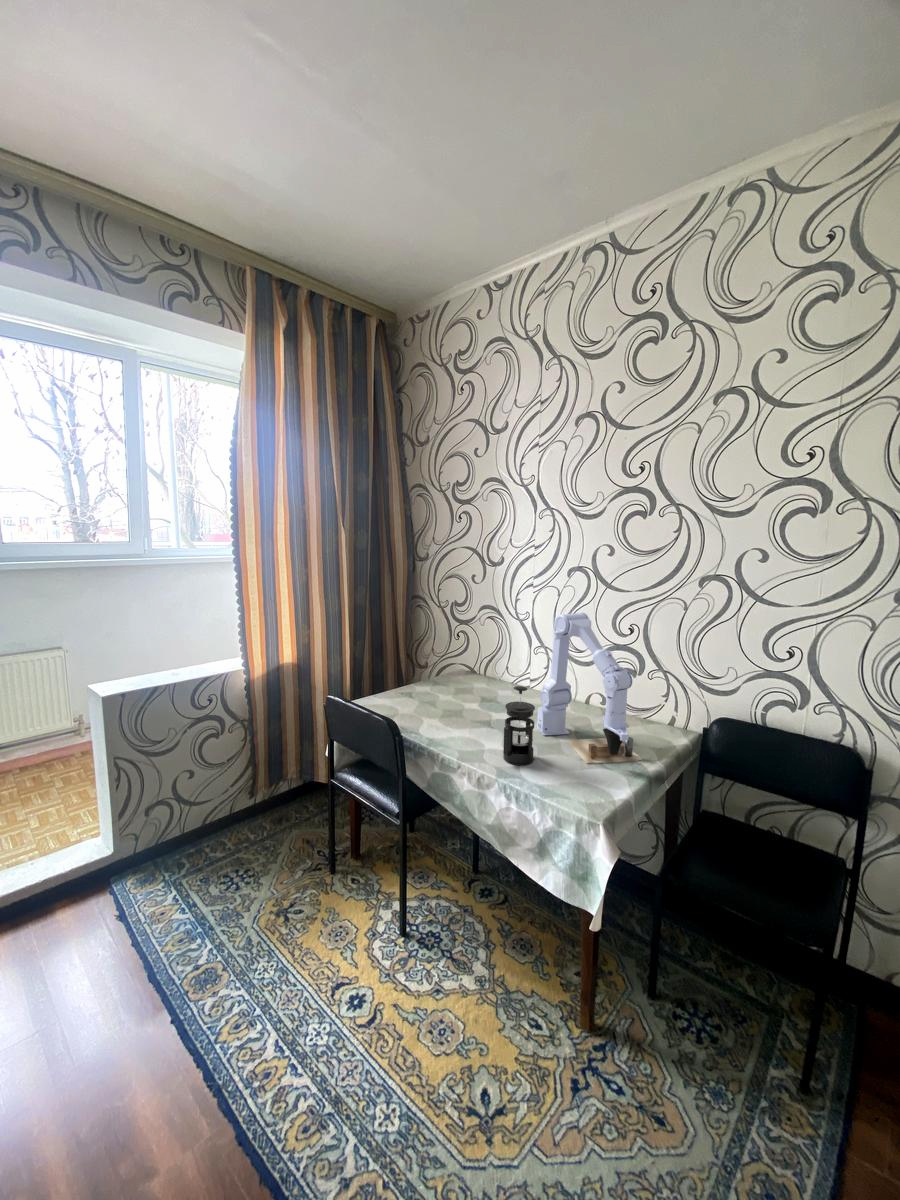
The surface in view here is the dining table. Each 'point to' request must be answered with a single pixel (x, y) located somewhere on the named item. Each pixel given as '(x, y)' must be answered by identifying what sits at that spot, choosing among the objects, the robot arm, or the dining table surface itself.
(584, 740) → the board
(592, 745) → the tan wooden bar
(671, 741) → the dining table surface
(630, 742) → the hinge post
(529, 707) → the french press
